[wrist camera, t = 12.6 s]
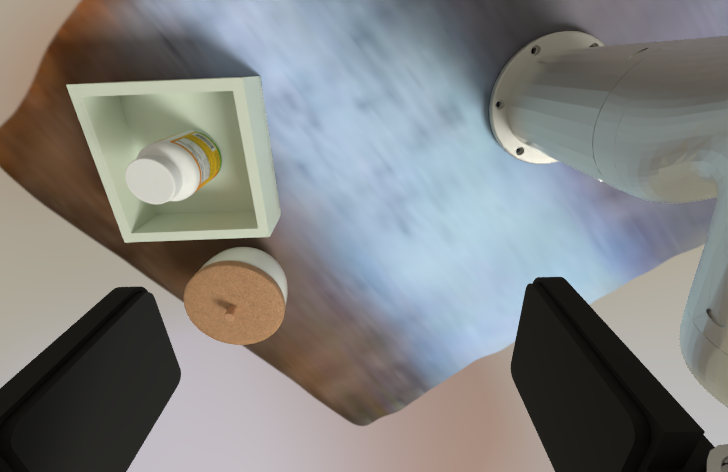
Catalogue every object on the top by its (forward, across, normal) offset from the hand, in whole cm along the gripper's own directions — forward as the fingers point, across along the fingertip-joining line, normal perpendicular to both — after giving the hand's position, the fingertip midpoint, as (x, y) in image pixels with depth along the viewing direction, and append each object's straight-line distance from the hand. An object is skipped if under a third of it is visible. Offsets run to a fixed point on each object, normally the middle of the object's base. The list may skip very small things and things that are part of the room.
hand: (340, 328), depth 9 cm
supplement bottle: (+30, +18, +2) cm, 35 cm away
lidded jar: (+32, +15, +17) cm, 39 cm away
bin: (+31, +18, +2) cm, 36 cm away
